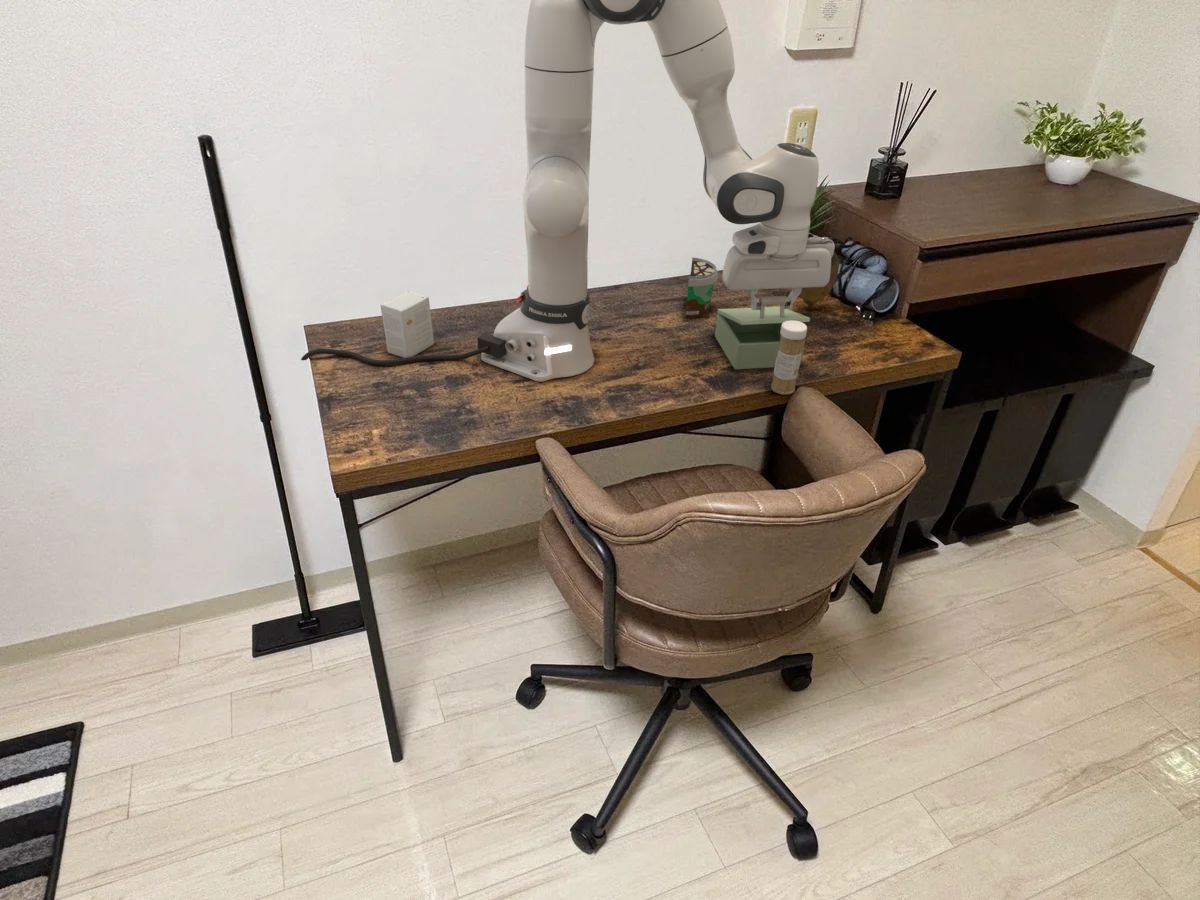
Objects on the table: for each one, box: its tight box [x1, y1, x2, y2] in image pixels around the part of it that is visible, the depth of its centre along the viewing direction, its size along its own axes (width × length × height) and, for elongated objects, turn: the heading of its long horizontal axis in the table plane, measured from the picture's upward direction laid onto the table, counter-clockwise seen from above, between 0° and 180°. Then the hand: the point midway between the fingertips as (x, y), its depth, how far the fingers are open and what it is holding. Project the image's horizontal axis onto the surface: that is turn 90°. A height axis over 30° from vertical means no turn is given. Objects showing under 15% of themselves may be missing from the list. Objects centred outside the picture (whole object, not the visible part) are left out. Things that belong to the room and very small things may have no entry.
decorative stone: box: [800, 251, 840, 309], centre depth 172 cm, size 10×6×15 cm, turn 104°
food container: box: [684, 257, 719, 319], centre depth 171 cm, size 12×6×10 cm, turn 171°
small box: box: [380, 290, 435, 358], centre depth 152 cm, size 8×6×10 cm
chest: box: [714, 312, 806, 370], centre depth 157 cm, size 15×14×5 cm
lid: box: [717, 295, 811, 325], centre depth 153 cm, size 15×14×5 cm
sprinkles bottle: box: [770, 320, 808, 396], centre depth 142 cm, size 5×5×13 cm
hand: (770, 308), depth 149 cm, fingers closed on lid, 5 cm apart
